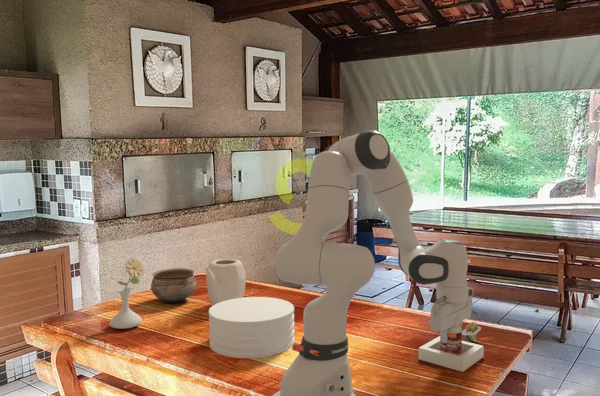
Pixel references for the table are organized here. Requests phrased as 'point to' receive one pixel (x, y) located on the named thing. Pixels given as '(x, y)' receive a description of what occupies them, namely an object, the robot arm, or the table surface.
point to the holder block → (451, 355)
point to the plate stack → (251, 327)
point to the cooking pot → (173, 284)
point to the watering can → (225, 280)
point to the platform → (471, 332)
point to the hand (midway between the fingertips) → (450, 338)
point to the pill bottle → (453, 339)
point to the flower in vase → (127, 316)
